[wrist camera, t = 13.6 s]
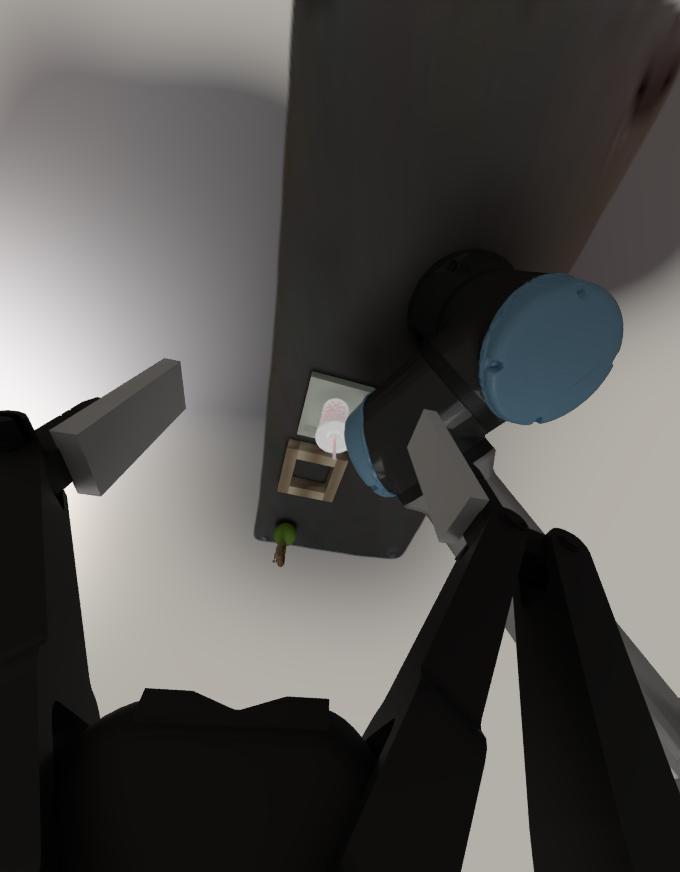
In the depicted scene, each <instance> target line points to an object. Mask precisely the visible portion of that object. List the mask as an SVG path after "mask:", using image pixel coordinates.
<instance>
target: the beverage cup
mask: <svg viewBox="0 0 680 872" xmlns="http://www.w3.org/2000/svg"><path fill="white" fill-rule="evenodd" d="M348 416H349V410H348V406H347V404H346V403H345V402H344V401H343V400H341V399H337V398H336V399H330V400H328V401H327V402H326V403H325V404H324V407H323V410H322V415H321V419H320V423H319V426H318V427H317V430H316V434H315V439H316V443H317V445H318V446H319V448H321V449H322V450H324V451H325V452H329V453H332V454H333V460H335V459H336V453H342V452H344V451H347V448H346V444H345V438H344V431H345V422H346V420H347V417H348Z"/></svg>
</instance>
